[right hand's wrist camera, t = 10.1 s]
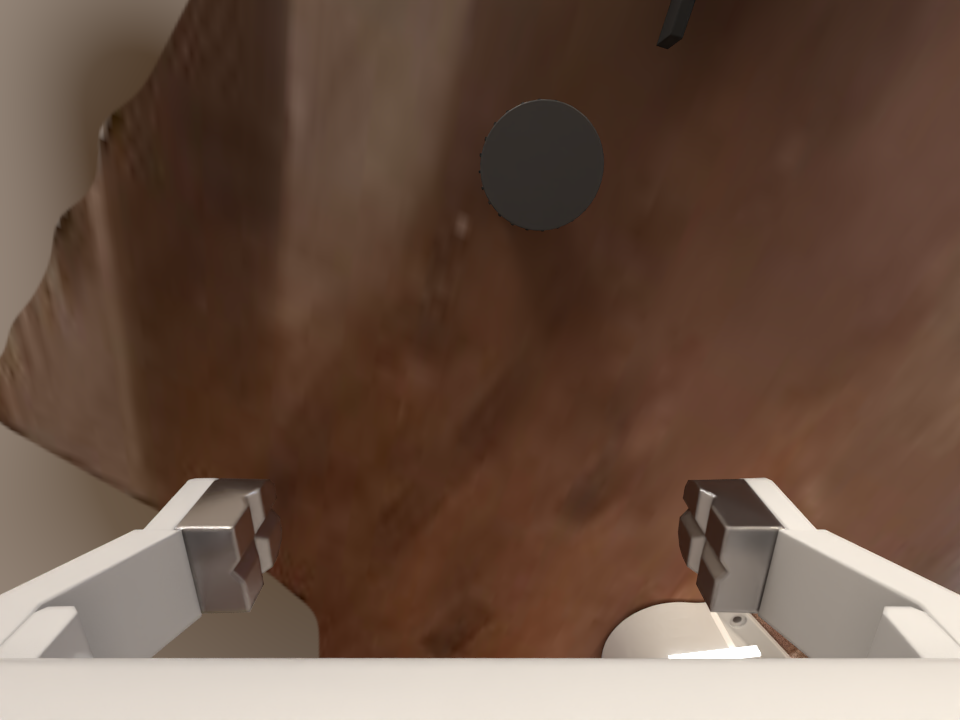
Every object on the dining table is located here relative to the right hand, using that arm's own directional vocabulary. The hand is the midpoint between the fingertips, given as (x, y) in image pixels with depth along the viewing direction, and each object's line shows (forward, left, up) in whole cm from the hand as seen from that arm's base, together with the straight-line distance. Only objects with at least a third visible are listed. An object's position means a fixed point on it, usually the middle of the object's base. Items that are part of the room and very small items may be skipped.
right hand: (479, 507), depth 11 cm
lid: (+2, -7, -15) cm, 16 cm away
